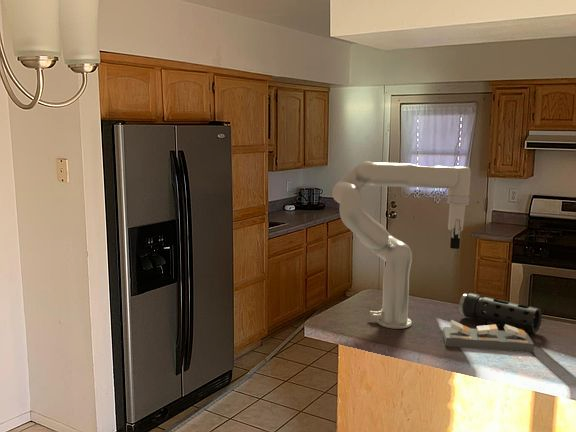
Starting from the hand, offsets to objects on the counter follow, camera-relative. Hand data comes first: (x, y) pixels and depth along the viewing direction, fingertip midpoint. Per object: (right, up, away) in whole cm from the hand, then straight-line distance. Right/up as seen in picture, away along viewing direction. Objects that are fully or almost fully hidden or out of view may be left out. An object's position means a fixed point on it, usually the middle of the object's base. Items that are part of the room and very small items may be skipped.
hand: (454, 248), depth 216 cm
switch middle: (+5, -27, -20) cm, 34 cm away
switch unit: (+5, -32, -19) cm, 37 cm away
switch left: (-3, -26, -18) cm, 32 cm away
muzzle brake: (+16, -29, -1) cm, 33 cm away
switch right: (+14, -27, -21) cm, 37 cm away
